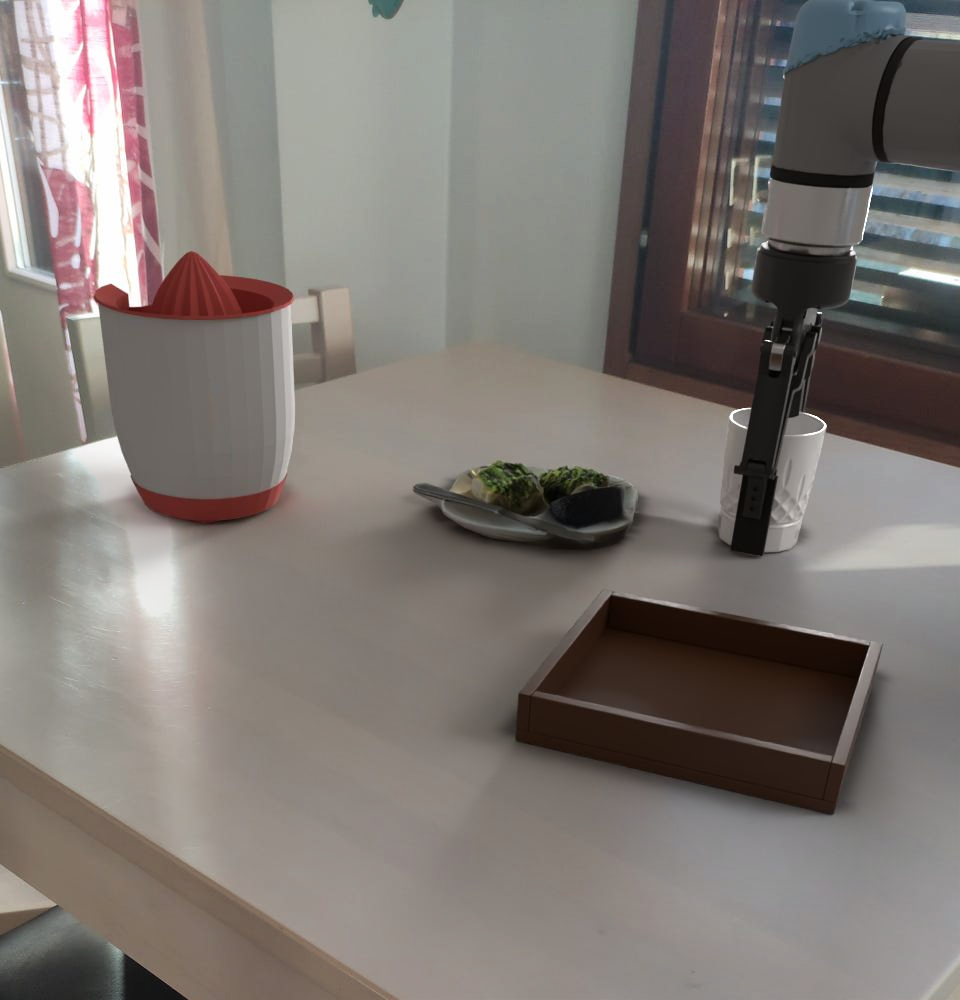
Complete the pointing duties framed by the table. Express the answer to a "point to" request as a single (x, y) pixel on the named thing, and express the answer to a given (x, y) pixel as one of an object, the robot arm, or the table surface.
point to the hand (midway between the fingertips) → (756, 535)
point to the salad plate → (539, 504)
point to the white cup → (791, 471)
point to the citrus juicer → (202, 391)
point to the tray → (704, 698)
